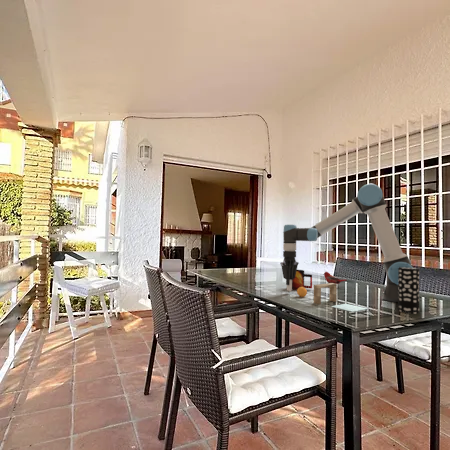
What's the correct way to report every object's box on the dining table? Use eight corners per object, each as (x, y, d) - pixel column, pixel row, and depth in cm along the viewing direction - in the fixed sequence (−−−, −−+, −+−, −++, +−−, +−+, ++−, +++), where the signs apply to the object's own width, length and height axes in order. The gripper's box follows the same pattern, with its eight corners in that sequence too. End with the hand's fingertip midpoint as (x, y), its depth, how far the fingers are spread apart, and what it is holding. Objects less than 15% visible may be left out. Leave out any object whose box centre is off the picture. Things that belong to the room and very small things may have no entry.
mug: (312, 290, 193) (312, 271, 193) (290, 290, 193) (291, 271, 193) (308, 287, 203) (308, 269, 203) (287, 287, 202) (287, 269, 203)
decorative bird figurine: (324, 285, 214) (324, 271, 215) (348, 289, 201) (348, 273, 201) (321, 285, 212) (322, 271, 213) (346, 289, 199) (346, 274, 200)
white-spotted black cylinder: (394, 309, 145) (394, 267, 145) (410, 309, 145) (410, 267, 146) (406, 313, 136) (406, 269, 137) (423, 313, 137) (423, 269, 138)
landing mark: (368, 309, 144) (368, 308, 144) (352, 312, 137) (352, 311, 137) (345, 304, 154) (345, 303, 154) (330, 306, 147) (330, 306, 147)
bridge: (336, 301, 160) (336, 283, 160) (318, 304, 152) (318, 285, 153) (331, 300, 163) (331, 283, 163) (313, 303, 155) (313, 284, 155)
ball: (309, 297, 170) (309, 287, 170) (302, 298, 167) (302, 288, 167) (301, 295, 175) (301, 285, 175) (294, 296, 172) (294, 286, 172)
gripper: (292, 250, 187) (292, 288, 186) (277, 250, 180) (276, 290, 179) (302, 250, 181) (301, 290, 180) (286, 251, 174) (285, 292, 173)
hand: (289, 290), depth 179 cm, fingers closed
